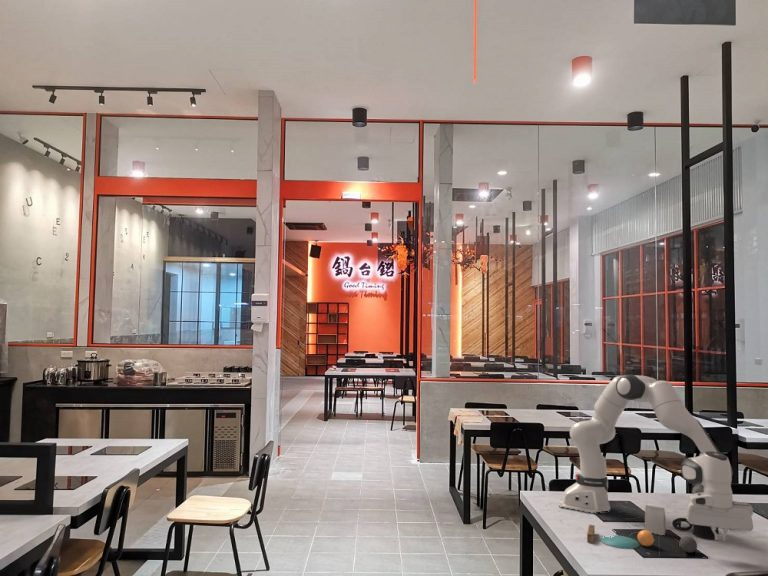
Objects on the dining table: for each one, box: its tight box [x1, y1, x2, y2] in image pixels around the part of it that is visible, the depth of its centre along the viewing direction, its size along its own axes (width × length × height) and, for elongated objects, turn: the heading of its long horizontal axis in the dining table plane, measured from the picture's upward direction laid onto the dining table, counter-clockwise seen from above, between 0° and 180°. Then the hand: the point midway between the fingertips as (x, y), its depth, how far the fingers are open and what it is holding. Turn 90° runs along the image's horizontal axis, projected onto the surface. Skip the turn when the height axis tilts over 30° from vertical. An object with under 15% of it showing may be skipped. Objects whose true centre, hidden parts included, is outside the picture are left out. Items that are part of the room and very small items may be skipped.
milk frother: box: [671, 517, 720, 541], centre depth 224 cm, size 14×16×15 cm
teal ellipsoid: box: [599, 534, 641, 550], centre depth 212 cm, size 14×14×1 cm
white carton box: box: [644, 504, 667, 536], centre depth 223 cm, size 4×7×10 cm, turn 53°
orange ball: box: [637, 529, 655, 547], centre depth 208 cm, size 6×6×6 cm
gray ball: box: [679, 535, 698, 554], centre depth 203 cm, size 6×6×6 cm
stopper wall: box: [586, 524, 596, 544], centre depth 216 cm, size 2×12×3 cm, turn 157°
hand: (719, 540), depth 199 cm, fingers closed
